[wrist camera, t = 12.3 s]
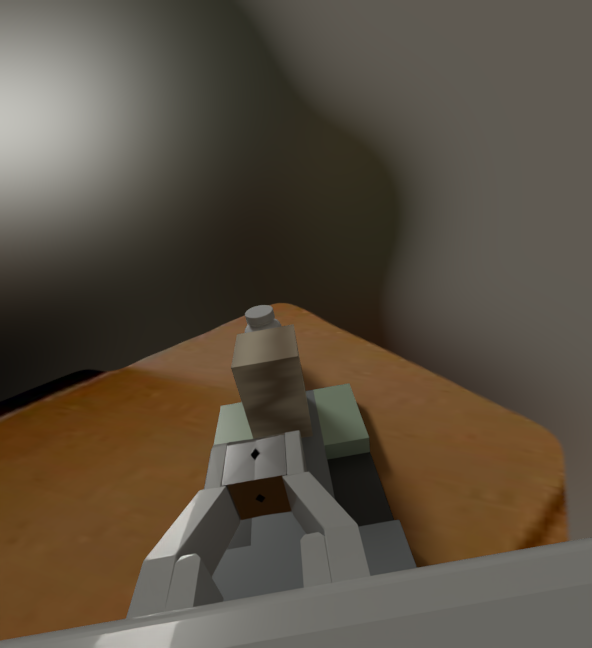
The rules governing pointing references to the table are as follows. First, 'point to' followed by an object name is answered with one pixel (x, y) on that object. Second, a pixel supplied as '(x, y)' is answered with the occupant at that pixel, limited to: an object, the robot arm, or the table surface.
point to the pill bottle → (260, 319)
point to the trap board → (339, 481)
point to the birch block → (271, 382)
